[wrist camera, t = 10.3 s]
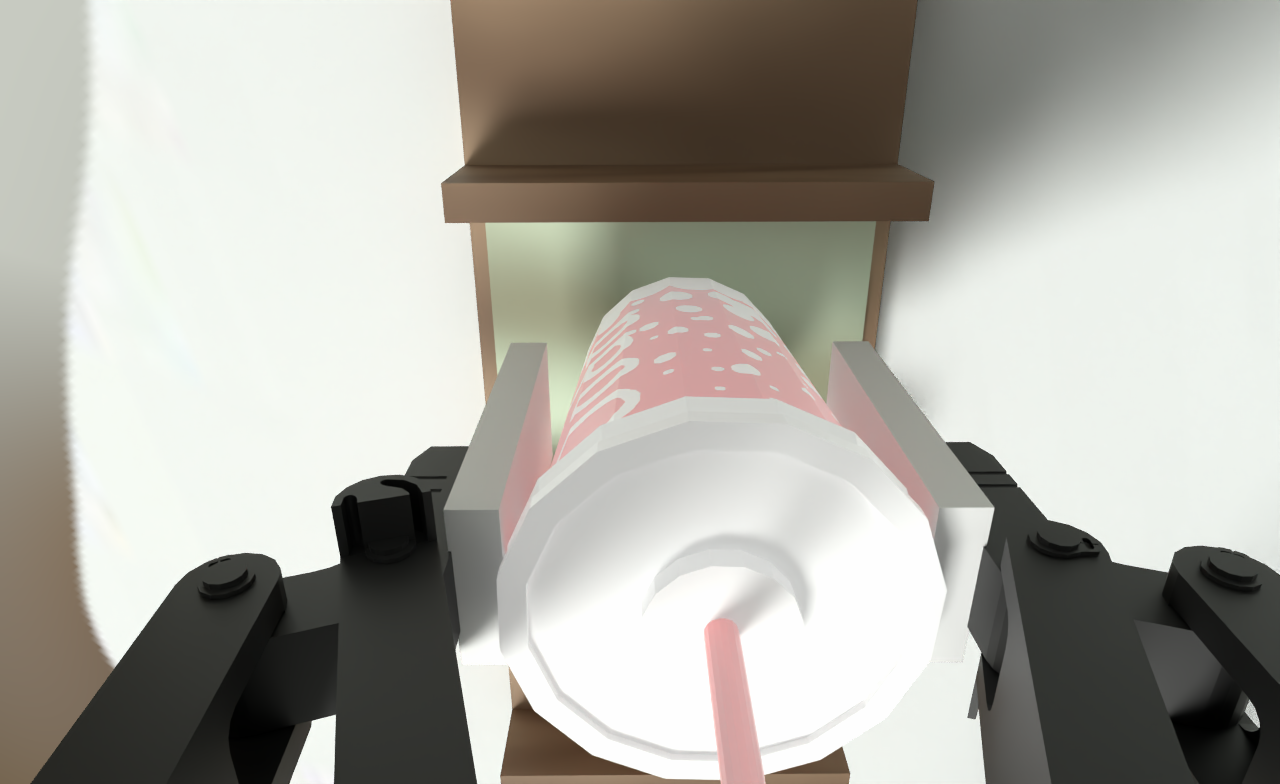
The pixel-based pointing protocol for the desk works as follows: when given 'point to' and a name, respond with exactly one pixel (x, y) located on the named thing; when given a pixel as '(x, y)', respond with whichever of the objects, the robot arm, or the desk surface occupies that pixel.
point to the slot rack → (676, 198)
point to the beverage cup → (713, 554)
